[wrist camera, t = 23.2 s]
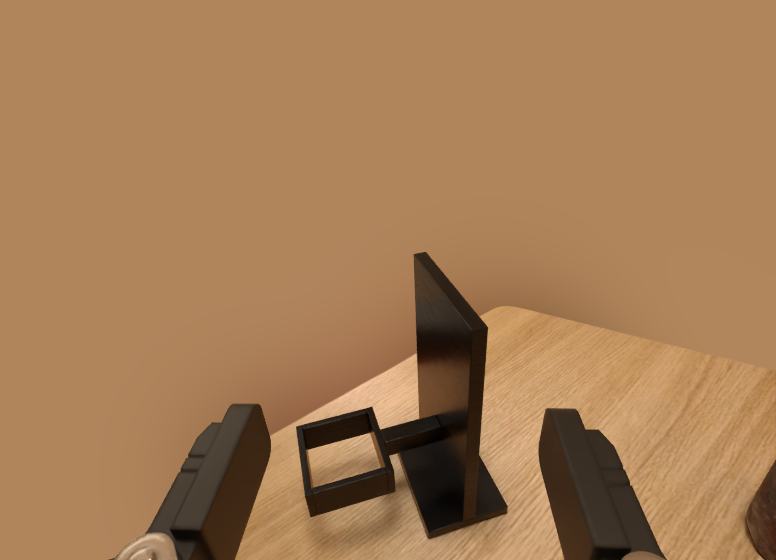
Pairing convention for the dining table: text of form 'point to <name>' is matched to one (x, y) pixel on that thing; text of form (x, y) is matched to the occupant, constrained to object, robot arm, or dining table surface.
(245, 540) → the dining table surface
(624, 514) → the robot arm
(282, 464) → the dining table surface
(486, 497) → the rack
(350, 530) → the dining table surface
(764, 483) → the candle
